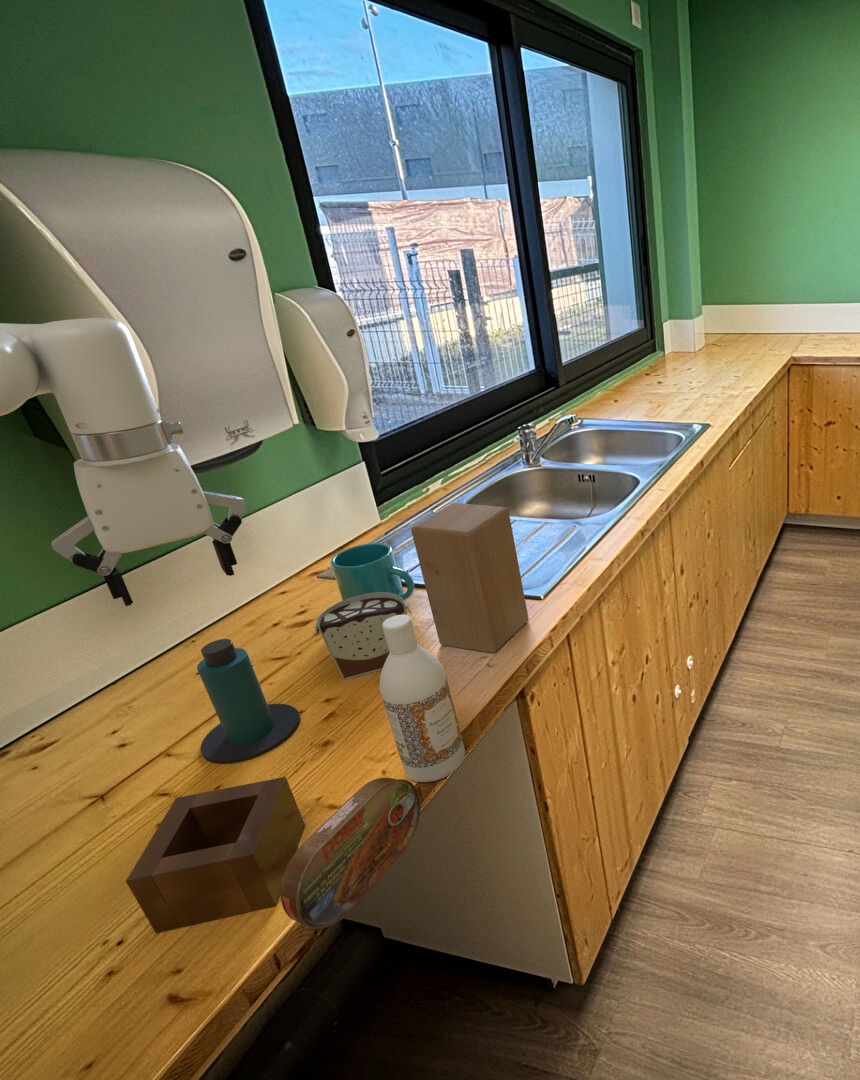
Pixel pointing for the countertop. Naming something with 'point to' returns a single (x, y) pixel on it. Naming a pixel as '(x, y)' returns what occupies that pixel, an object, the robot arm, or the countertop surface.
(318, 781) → the countertop surface
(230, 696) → the bottle
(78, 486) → the robot arm
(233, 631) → the countertop surface
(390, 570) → the cup
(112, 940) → the countertop surface
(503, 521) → the wooden block
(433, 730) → the bath foam
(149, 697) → the countertop surface
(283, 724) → the coaster
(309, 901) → the tin
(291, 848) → the holder
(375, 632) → the food container
